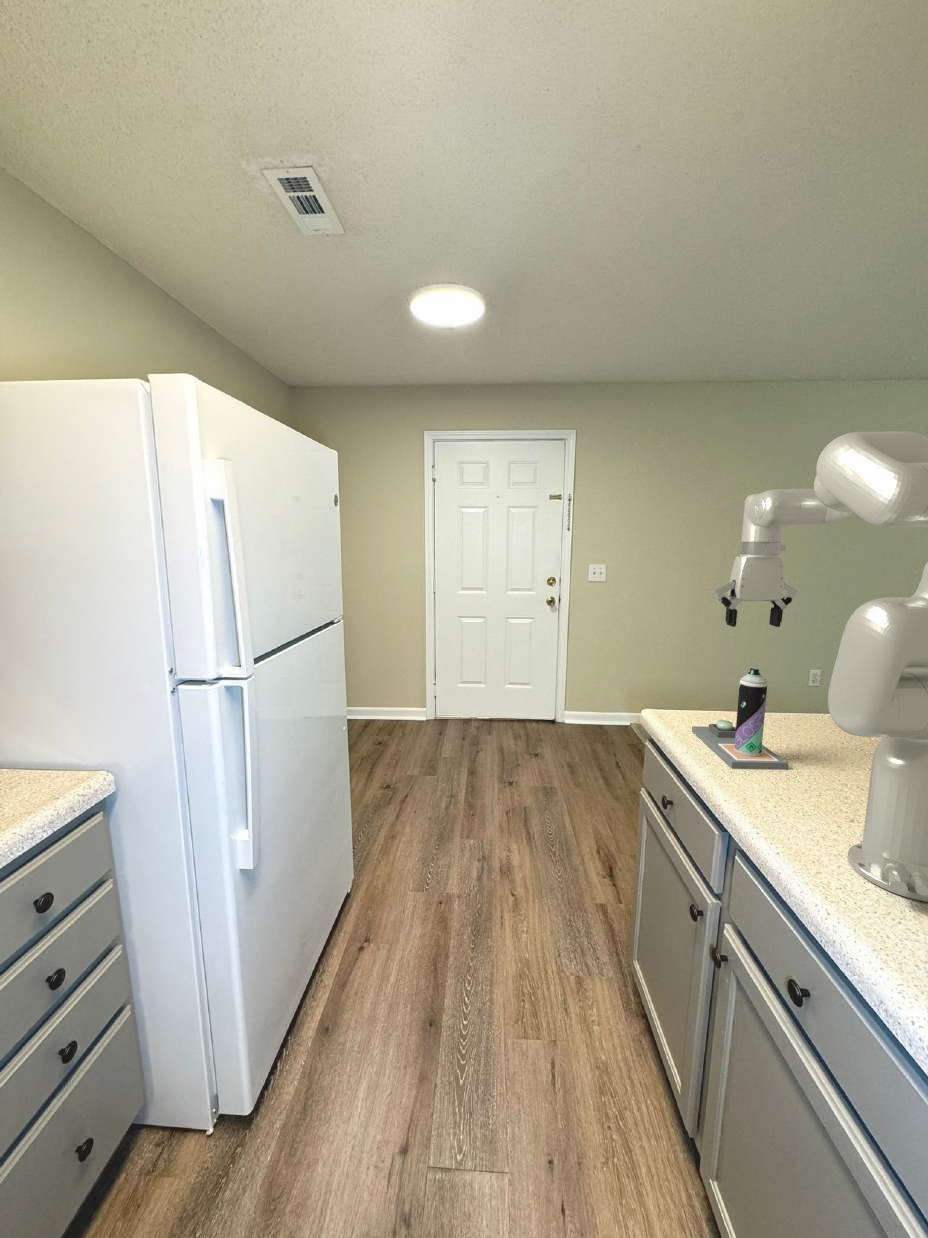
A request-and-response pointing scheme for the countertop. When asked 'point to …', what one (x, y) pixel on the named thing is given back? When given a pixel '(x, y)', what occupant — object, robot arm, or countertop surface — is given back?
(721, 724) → the button
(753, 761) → the picture board
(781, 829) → the countertop surface
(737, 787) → the countertop surface
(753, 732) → the spray can
